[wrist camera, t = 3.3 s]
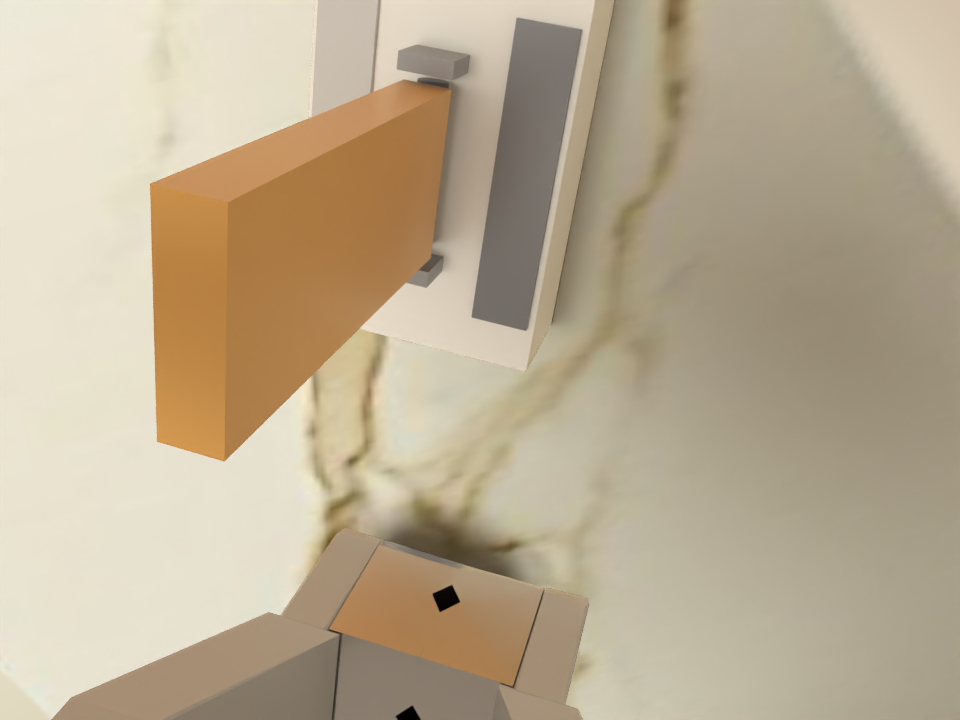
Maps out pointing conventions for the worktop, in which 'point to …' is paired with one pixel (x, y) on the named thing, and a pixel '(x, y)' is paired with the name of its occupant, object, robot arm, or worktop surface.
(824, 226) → the worktop surface
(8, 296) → the worktop surface
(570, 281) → the worktop surface
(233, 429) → the lever
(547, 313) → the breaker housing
